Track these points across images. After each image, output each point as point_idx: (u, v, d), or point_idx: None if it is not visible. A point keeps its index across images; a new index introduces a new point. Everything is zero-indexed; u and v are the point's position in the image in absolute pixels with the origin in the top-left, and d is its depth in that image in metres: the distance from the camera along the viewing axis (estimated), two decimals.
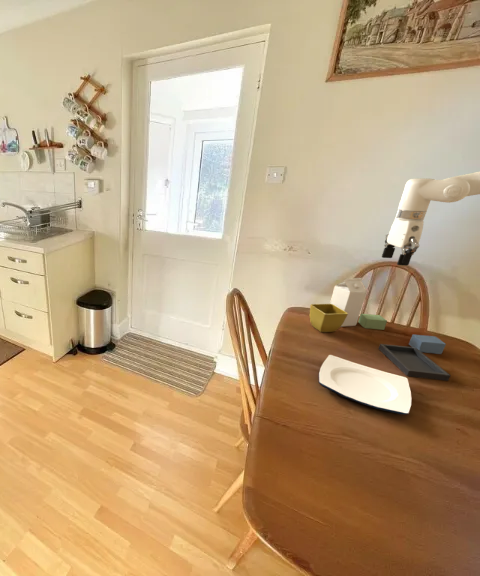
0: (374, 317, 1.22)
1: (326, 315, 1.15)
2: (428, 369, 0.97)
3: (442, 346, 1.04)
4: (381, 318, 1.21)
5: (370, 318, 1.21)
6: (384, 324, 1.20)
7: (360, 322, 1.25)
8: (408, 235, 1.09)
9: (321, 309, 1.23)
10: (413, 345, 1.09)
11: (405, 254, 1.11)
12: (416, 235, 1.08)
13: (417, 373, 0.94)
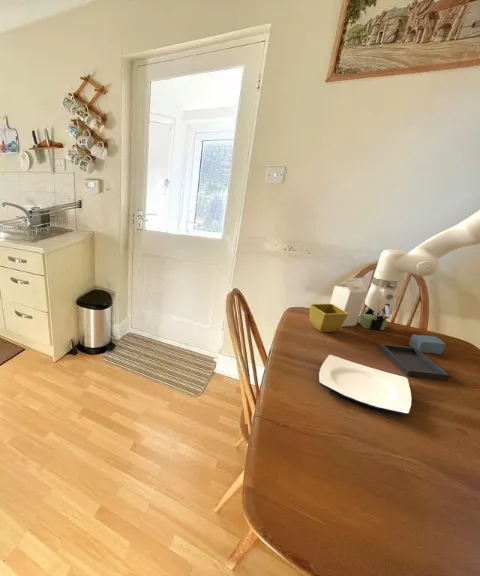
0: (374, 317, 1.22)
1: (326, 315, 1.15)
2: (428, 369, 0.97)
3: (442, 346, 1.04)
4: None
5: (370, 318, 1.21)
6: (384, 324, 1.20)
7: (360, 322, 1.25)
8: (383, 302, 1.15)
9: (321, 309, 1.23)
10: (413, 345, 1.09)
11: (377, 320, 1.19)
12: (391, 303, 1.14)
13: (417, 373, 0.94)
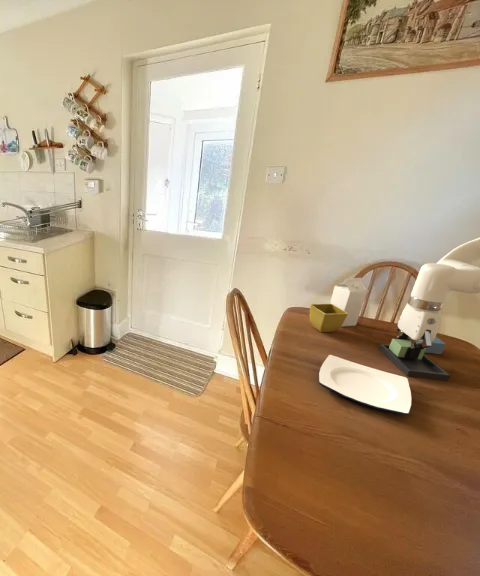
0: (409, 344, 1.01)
1: (326, 315, 1.15)
2: (428, 369, 0.97)
3: (442, 346, 1.04)
4: None
5: (405, 345, 1.01)
6: (422, 353, 0.99)
7: (391, 349, 1.04)
8: (423, 328, 0.95)
9: (321, 309, 1.23)
10: None
11: (414, 348, 0.98)
12: (432, 329, 0.94)
13: (417, 373, 0.94)
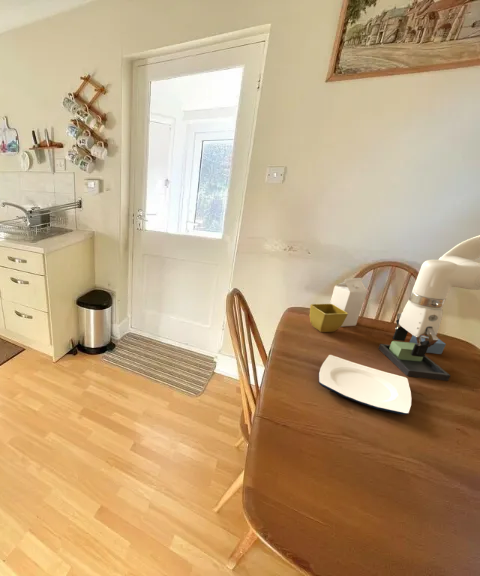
0: (409, 346, 1.02)
1: (326, 315, 1.15)
2: (428, 369, 0.97)
3: (442, 346, 1.04)
4: None
5: (405, 347, 1.01)
6: None
7: (391, 351, 1.05)
8: (425, 325, 0.94)
9: (321, 309, 1.23)
10: None
11: (420, 346, 0.96)
12: (434, 325, 0.94)
13: (417, 373, 0.94)
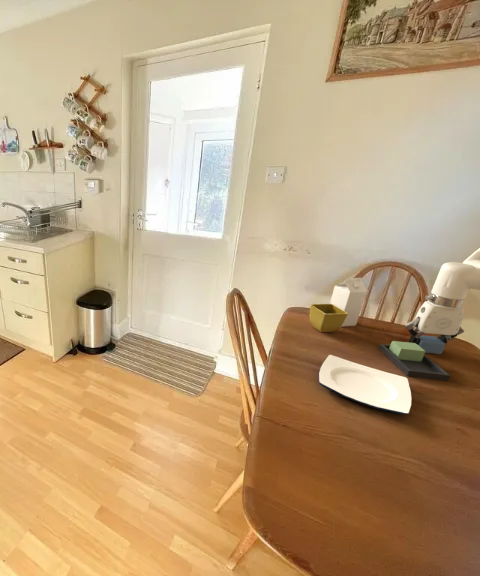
0: (409, 346, 1.02)
1: (326, 315, 1.15)
2: (428, 369, 0.97)
3: (442, 346, 1.04)
4: (418, 347, 1.01)
5: (405, 347, 1.01)
6: (422, 355, 1.00)
7: (391, 351, 1.05)
8: (417, 314, 1.06)
9: (321, 309, 1.23)
10: None
11: (411, 334, 1.08)
12: (421, 317, 1.04)
13: (417, 373, 0.94)
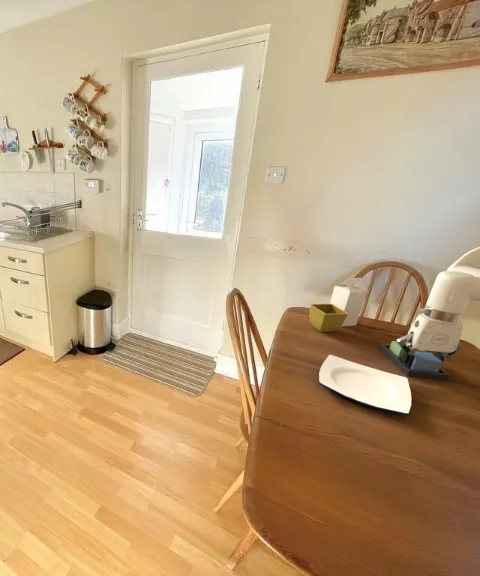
0: None
1: (326, 315, 1.15)
2: None
3: (438, 364, 0.93)
4: None
5: None
6: None
7: (391, 351, 1.05)
8: (411, 328, 0.95)
9: (321, 309, 1.23)
10: None
11: (404, 351, 0.97)
12: (415, 332, 0.93)
13: (417, 373, 0.94)
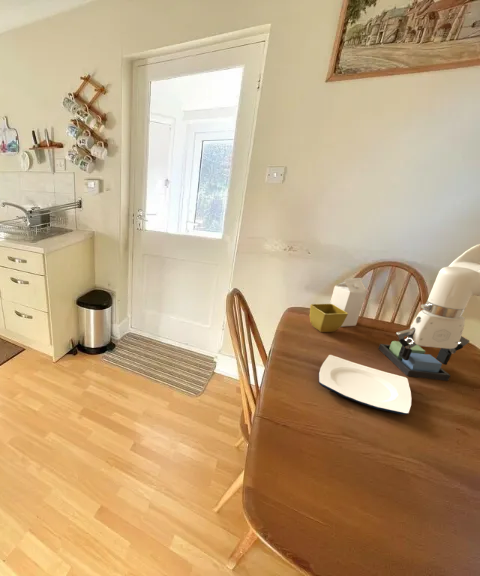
0: None
1: (326, 315, 1.15)
2: None
3: (438, 366, 0.93)
4: (418, 347, 1.01)
5: None
6: None
7: (391, 351, 1.05)
8: (412, 325, 0.94)
9: (321, 309, 1.23)
10: (406, 364, 0.98)
11: (402, 345, 0.97)
12: (416, 328, 0.92)
13: (417, 373, 0.94)
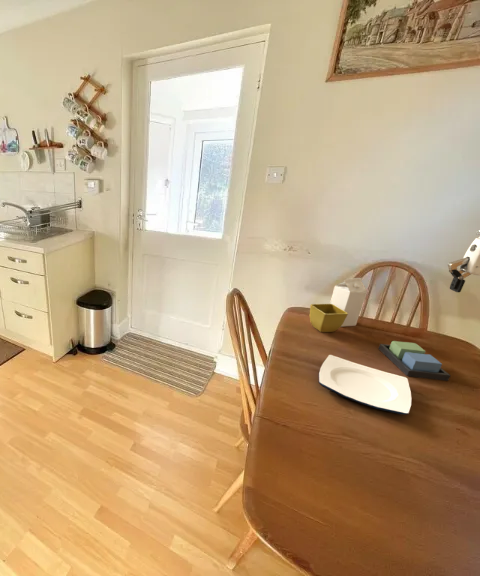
0: (409, 346, 1.02)
1: (326, 315, 1.15)
2: None
3: (438, 366, 0.93)
4: (418, 347, 1.01)
5: (405, 347, 1.01)
6: None
7: (391, 351, 1.05)
8: (465, 254, 0.91)
9: (321, 309, 1.23)
10: (406, 364, 0.98)
11: (453, 276, 0.93)
12: (471, 256, 0.89)
13: (417, 373, 0.94)
